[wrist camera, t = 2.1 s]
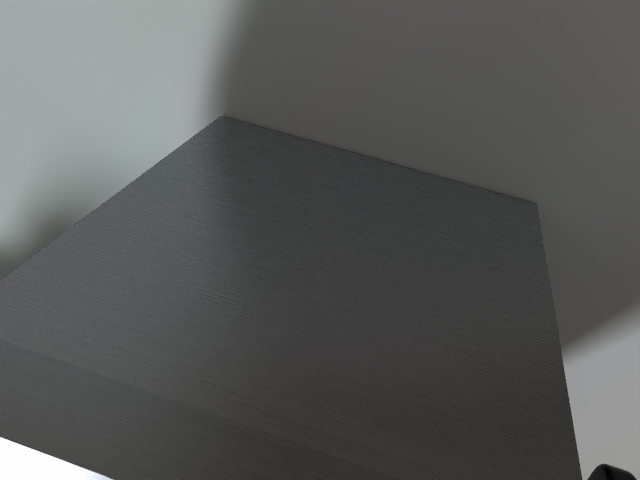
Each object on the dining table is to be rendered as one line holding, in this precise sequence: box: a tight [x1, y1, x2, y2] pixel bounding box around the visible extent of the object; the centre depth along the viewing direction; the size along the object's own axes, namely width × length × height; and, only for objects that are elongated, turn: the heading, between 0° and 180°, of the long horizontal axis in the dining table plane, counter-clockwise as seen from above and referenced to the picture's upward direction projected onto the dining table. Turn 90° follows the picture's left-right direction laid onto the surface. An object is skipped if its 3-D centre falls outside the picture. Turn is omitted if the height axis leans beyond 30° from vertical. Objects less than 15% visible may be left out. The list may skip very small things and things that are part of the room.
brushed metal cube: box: [0, 116, 582, 480], centre depth 8 cm, size 6×6×7 cm
